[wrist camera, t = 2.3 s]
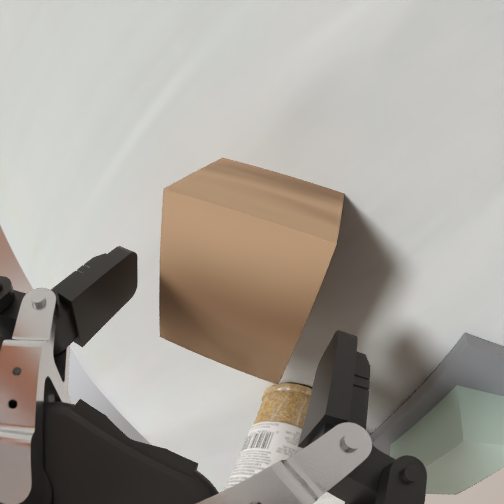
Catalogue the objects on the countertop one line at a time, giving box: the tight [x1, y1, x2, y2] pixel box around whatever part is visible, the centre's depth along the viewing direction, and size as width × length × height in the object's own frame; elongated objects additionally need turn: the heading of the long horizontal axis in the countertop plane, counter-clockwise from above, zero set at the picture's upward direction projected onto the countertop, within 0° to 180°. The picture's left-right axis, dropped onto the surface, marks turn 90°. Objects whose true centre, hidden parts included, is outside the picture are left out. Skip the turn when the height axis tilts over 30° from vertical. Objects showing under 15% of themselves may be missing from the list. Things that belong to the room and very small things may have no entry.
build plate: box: [370, 333, 504, 494], centre depth 14 cm, size 14×10×5 cm
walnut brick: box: [159, 158, 344, 384], centre depth 13 cm, size 7×6×5 cm
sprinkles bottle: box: [225, 383, 312, 490], centre depth 14 cm, size 5×5×13 cm
